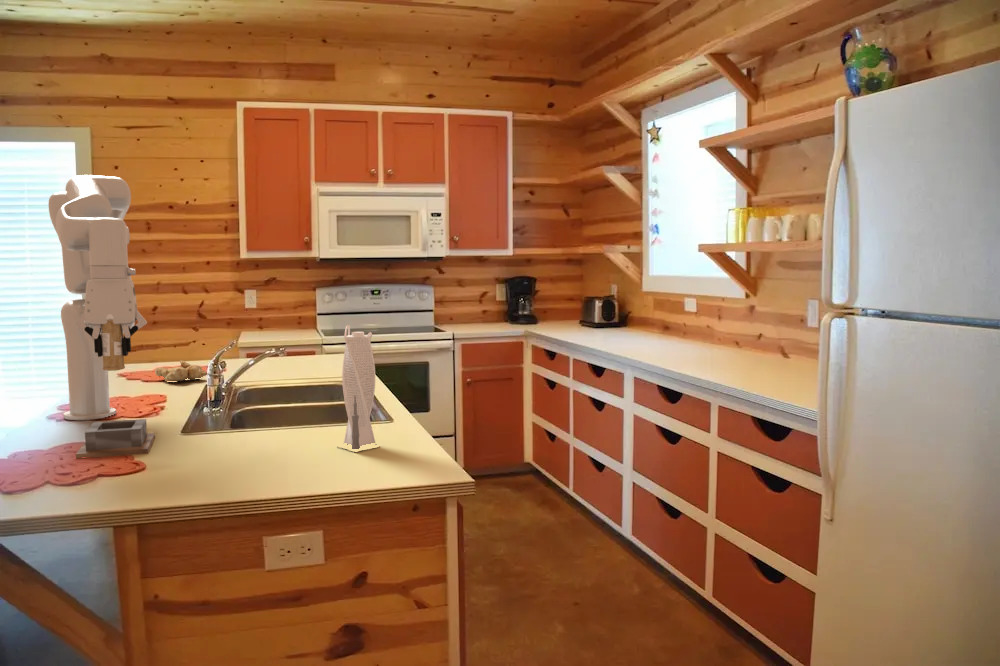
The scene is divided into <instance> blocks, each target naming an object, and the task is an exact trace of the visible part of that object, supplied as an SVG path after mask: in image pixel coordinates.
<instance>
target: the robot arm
mask: <svg viewBox="0 0 1000 666" xmlns="http://www.w3.org/2000/svg"><path fill="white" fill-rule="evenodd" d="M131 200H132V194H131V189H130V187H129V184H128V183H127V181H125V179H123V178H121V177H117V176H108V175H107V176H105V175H93V174H89V175H88V174H84V175H83V174H82V175H81V174H80V175H75V176H73V177H71V178H70V179H69V180H68V181H67V183H66V185H65V191H59V192H54V193H52V194H51V195H50V196H49V198H48V213H49V218H50V221H51V224H52V227H53V228H54V230H55V232H56V235H57V236H58V240H59V242H60V244H61V245H60V246H61V254H62V255H61V256H62V264H63V265H62V266H63V268H62V269H63V278H64V285H65V288H66V289H67V291H68V292H69V293H71V294H74V295H81V296H82V295H85V296H84V297H85V298H79V299H73V300H70V301H68V302H66V303H64V304H63V306H62V307H61V310H60V319H61V323H62V327H63V332H64V338H65V339H64V340H65V347H66V363H67V378H68V379H67V380H68V381H67V382H68V401H69V402H68V403H69V404H68V405H69V410H68V411H66V412H63V414H62V415H63V416H62V417H63V419H64V420H69V421H90V420H99V419H106V418H109V417H108V416H110V417H112V416H111V415H113V414H115V413H116V414H117V409H116V408H114V407H110V405H111V404H110V385H109V371H107V370H103V355H102V338H101V332H102V331H101V325H104V324H107V322H108V321H107V320H113V323H114V324H117V325H121V326H122V329H123V339H122V346H123V355H124V357H127V356H128V355H129V353H131V351H132V343H131V342H132V340H131V337H132V336H133V335H135V333H136V332H137V331H139V330H140V329H141V328H144V326H146V325H147V324H148V322H147V320H146V318H144V316H143V315H142V314H141V313H140V311H139V310H138V305H137V303H138V302H137V296H136V295H137V294H136V289H135V288H136V287H135V284H134V281H133V279H132V276H136V268H132V267H129V260H128V258H129V257H128V256H129V255H128V245H129V244H130V241H131V240H130V237H131V235H130V229H129V227H128V226H127V224H126V221H124V219H125V217H126V214H127V213H128V210H129V209H130V206H131ZM108 314H111V315H112V316H113V317H114V319H106V317H107V315H108ZM136 322H137V323H136ZM116 414H115V415H116ZM113 416H114V415H113ZM105 417H106V418H105Z"/></svg>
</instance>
